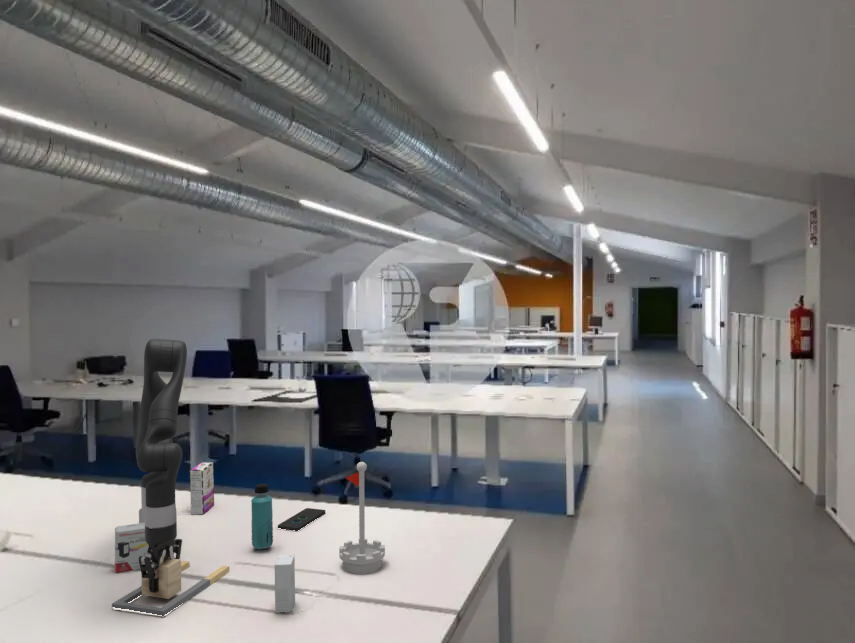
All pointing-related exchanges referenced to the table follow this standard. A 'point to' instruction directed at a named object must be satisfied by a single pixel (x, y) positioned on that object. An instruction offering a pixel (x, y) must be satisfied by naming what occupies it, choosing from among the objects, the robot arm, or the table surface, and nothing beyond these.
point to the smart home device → (301, 519)
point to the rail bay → (176, 601)
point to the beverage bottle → (262, 518)
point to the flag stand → (361, 537)
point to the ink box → (129, 546)
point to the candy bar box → (202, 488)
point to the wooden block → (165, 579)
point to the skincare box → (284, 583)
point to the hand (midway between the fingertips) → (161, 586)
